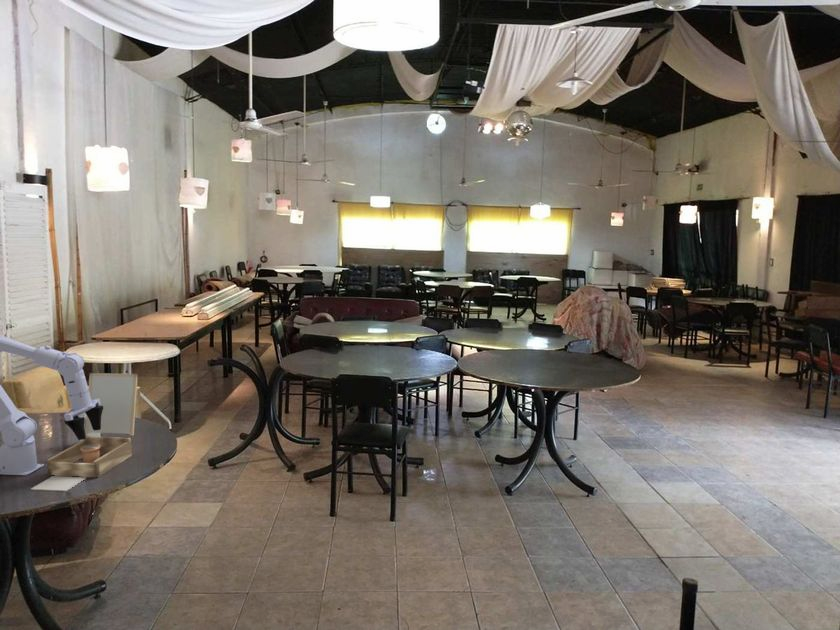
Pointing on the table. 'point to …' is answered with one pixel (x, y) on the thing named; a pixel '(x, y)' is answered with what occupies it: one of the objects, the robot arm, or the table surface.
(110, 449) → the cold frame
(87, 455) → the terracotta flower pot
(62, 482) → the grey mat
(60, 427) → the table surface
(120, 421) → the lid
